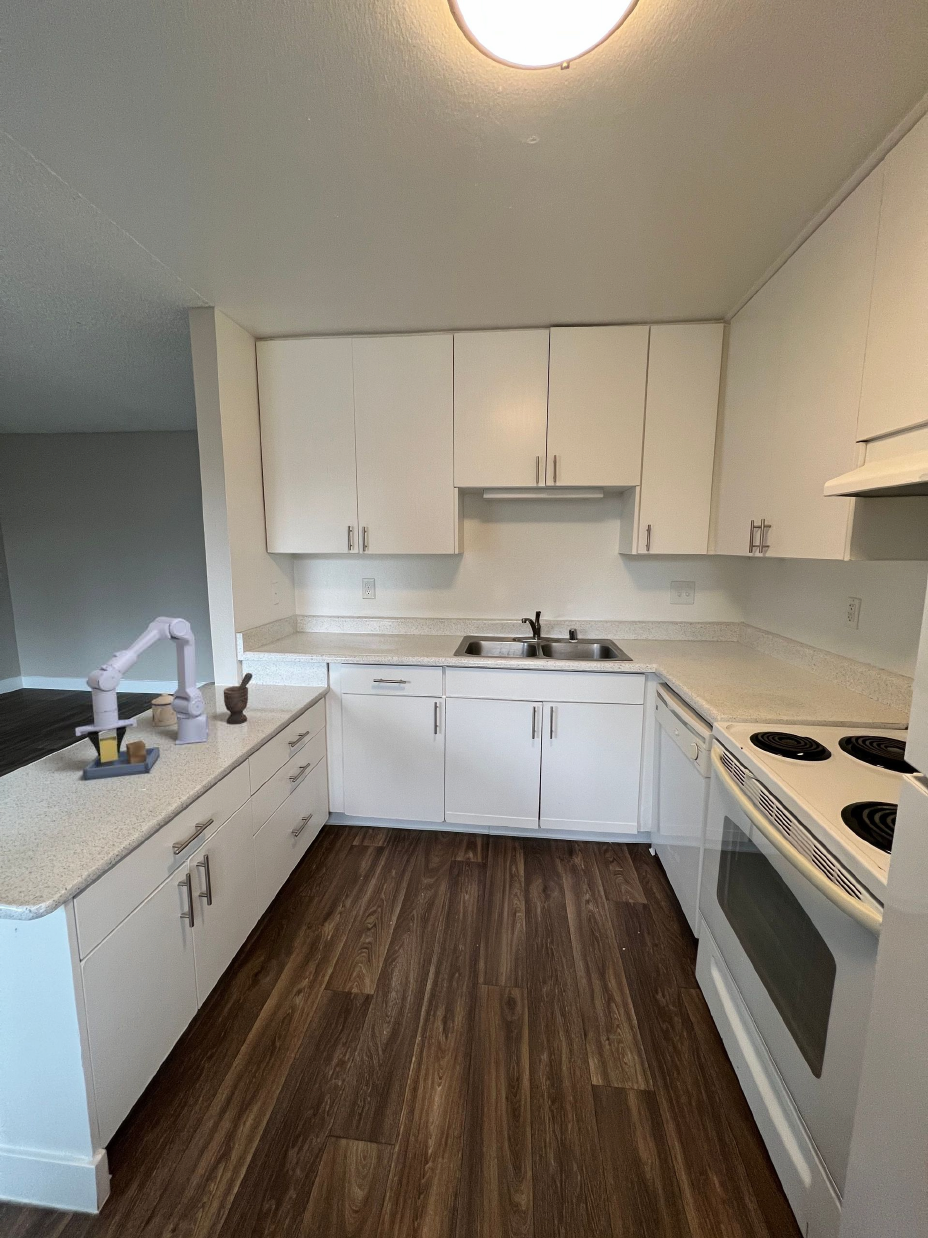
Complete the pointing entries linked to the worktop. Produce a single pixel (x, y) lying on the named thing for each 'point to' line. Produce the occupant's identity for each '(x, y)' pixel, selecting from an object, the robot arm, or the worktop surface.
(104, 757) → the mustard block
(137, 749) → the walnut block
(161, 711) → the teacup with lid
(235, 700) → the mortar and pestle
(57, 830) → the worktop surface
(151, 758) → the slate blue tray
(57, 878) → the worktop surface
